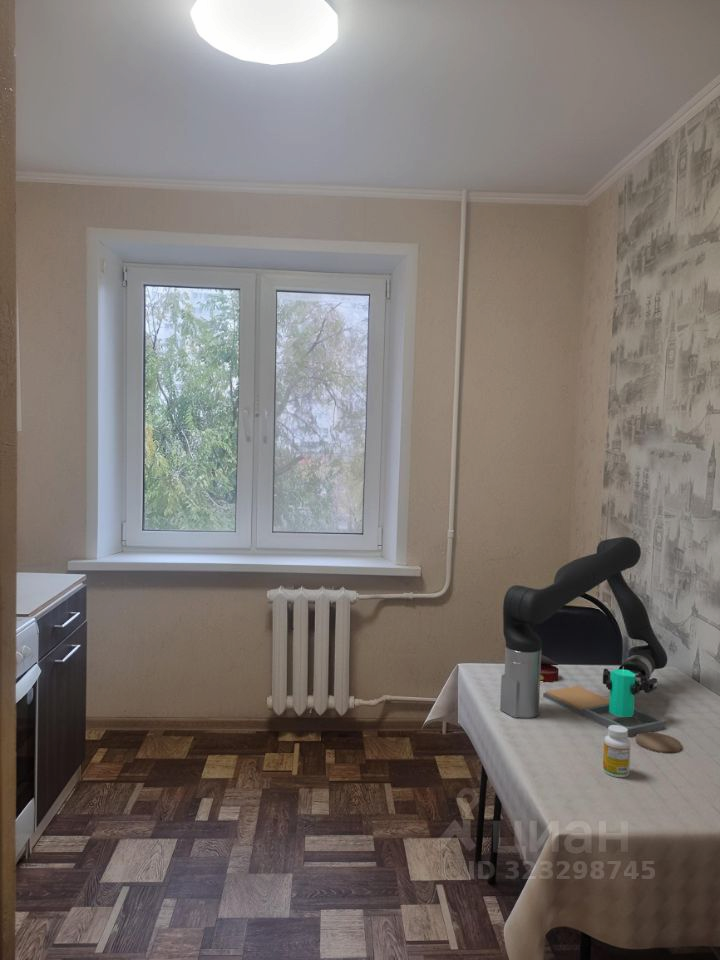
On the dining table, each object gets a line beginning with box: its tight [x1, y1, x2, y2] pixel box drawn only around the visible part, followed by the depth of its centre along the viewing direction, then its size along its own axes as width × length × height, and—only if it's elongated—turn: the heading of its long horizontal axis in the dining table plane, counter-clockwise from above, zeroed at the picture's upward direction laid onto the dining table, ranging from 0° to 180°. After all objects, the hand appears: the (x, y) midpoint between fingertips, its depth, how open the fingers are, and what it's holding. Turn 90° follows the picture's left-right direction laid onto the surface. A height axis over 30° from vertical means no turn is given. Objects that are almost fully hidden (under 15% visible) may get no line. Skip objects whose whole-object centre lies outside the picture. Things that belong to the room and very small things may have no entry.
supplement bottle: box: [602, 725, 631, 778], centre depth 153 cm, size 5×5×10 cm
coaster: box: [635, 731, 682, 754], centre depth 169 cm, size 10×10×1 cm
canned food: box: [540, 654, 559, 683], centre depth 216 cm, size 11×10×10 cm
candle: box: [608, 667, 636, 718], centre depth 182 cm, size 6×6×12 cm
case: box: [542, 685, 666, 738], centre depth 189 cm, size 13×30×2 cm, turn 27°
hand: (621, 688), depth 179 cm, fingers closed on candle, 5 cm apart
